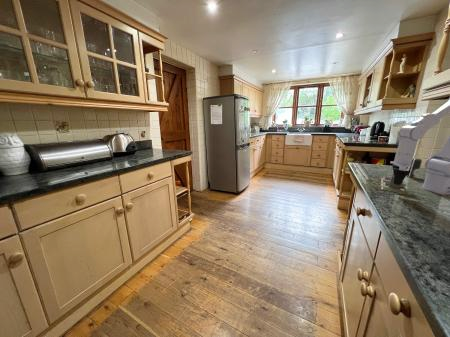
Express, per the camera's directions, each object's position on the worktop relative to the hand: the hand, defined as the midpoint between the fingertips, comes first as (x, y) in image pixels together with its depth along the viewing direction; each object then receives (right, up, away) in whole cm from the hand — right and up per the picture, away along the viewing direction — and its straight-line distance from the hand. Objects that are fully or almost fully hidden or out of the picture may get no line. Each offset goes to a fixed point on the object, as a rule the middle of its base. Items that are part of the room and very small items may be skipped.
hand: (396, 182), depth 86 cm
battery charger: (+28, +1, +21) cm, 35 cm away
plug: (0, -3, +1) cm, 3 cm away
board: (+4, -3, +6) cm, 7 cm away
